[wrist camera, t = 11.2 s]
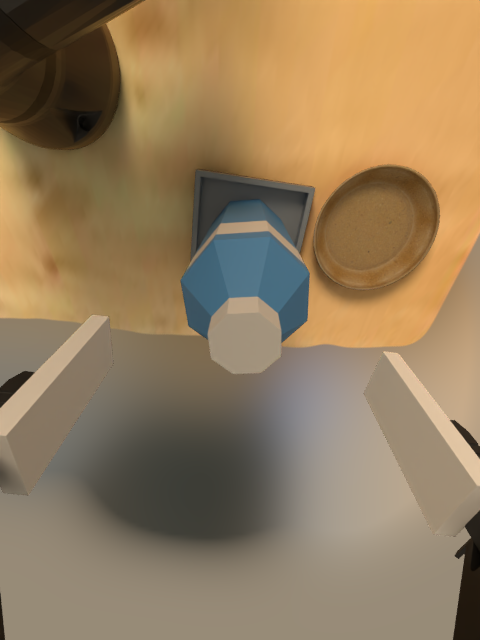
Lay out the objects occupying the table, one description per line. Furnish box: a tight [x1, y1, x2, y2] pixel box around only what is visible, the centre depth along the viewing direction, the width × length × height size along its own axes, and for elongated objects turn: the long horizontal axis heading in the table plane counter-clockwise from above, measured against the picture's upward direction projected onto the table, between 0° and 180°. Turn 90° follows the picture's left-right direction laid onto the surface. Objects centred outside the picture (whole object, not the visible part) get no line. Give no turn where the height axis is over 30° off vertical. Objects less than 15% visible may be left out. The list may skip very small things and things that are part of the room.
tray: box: [191, 169, 315, 261], centre depth 37 cm, size 14×14×2 cm
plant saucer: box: [314, 164, 440, 290], centre depth 36 cm, size 15×15×3 cm
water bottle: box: [181, 199, 310, 374], centre depth 26 cm, size 9×9×25 cm
